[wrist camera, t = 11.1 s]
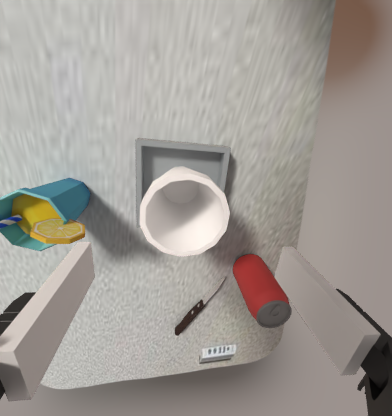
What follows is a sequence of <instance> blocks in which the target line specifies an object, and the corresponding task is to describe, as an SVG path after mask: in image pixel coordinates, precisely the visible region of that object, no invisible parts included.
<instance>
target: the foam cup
mask: <svg viewBox="0 0 392 416" xmlns="http://www.w3.org/2000/svg"><path fill="white" fill-rule="evenodd" d="M229 215H230V211H229V207H228V204H227V200H226V197H225V194H224V193H223V192H222V190H221V189H220V188H219V187H218V186H217V185H216V184H215V183H214V182H213V181H212V180H211V179H210V177H209V176H208V175H205V174H202V173H200V172H197V171H194V170H192V169H189V168H186V167H184V166H181V167H174V168H172V169H170V170H169V171H167V172H166V173H165V174H164V175H162V176H161V177H159V178H158V179H156V180H155V181H153V182H152V184H151V186H150V187H149V189H148V191H147V192H146V194H145V196H144V197H143V200H142V202H141V204H140V226H141V228H142V230H143V232H144V234H145V236H146V238H147V240H148V242H150V243H151V244H152V245H154V246H155V247H156V248H158V249H159V250H160V251H162V252H164V253H168V254H172V255H176V256H180V257H182V256H189V255H196V254H200V253H202V252H204V251H205V250H207V249H209V248H211V247H212V246H214V245H216V243H217V242H218V241H219V239H220V238H221V237H222V235H223V234H224V233H225V231H226V230H227V225H228V220H229Z"/></svg>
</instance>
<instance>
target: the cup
mask: <svg viewBox="0 0 392 416" xmlns="http://www.w3.org/2000/svg"><path fill="white" fill-rule="evenodd" d="M90 194H91V193H90V192H89V190H88V189H87V187H86V186H85V184H84V183H83V182H81V181H77V180H74V179H71V178H67V179H64V180H60V181H57V182H53V183H49V184H46V185H42V186H39V187H35V188H32V189H28V188H22V189H18V190H16V191H14V192H12V193H9V194H7V195H5V196H3V197H1V198H0V232H1V233H2V234H3V235H4V236H5V237H6V238H7V239H8V240H9V241H10V243H11V244H12V245H16V246H20V247H25V248H29V249H33V250H37V251H42V250H45V249H47V248H49V247H52V246H54V245H56V244H70V243H73V242H75V241H77V240H79V239H82V238H84V237H85V225H84V224H81V223H79V222H77V221H76V219H77V218H78V217H79V215H80V214H81V213H82V212H83V210H84V209H85V208H86V206H87V205H88V203H89V198H90Z"/></svg>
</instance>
